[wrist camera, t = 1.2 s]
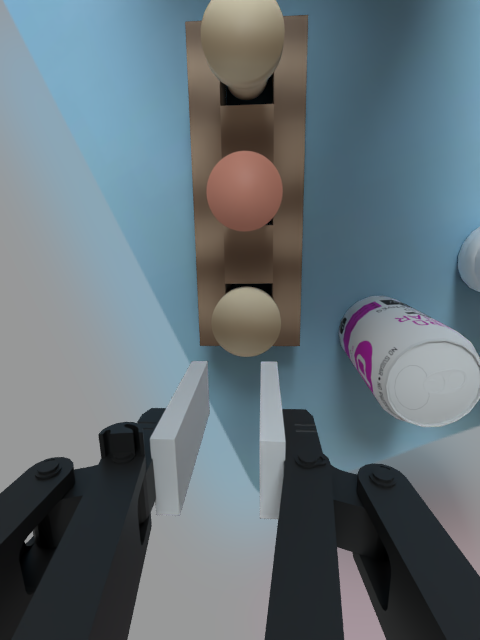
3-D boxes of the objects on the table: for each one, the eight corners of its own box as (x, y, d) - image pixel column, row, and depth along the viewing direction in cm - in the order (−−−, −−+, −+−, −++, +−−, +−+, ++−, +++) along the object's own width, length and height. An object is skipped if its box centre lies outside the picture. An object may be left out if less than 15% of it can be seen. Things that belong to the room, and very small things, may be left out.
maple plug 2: (220, 277, 35) (210, 289, 28) (277, 277, 35) (281, 289, 28) (221, 333, 36) (212, 356, 30) (277, 333, 36) (280, 357, 29)
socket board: (198, 55, 35) (185, 21, 29) (300, 50, 35) (308, 14, 29) (208, 329, 42) (200, 345, 36) (294, 329, 41) (299, 346, 36)
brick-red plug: (216, 168, 33) (204, 151, 26) (278, 166, 32) (283, 149, 25) (218, 231, 34) (207, 232, 27) (278, 230, 34) (282, 230, 27)
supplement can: (344, 369, 42) (387, 443, 28) (331, 303, 40) (370, 344, 26) (415, 355, 41) (497, 424, 27) (405, 286, 40) (488, 320, 25)
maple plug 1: (213, 40, 30) (198, -15, 23) (280, 36, 30) (285, -20, 23) (215, 114, 31) (202, 82, 25) (279, 111, 31) (284, 79, 24)
